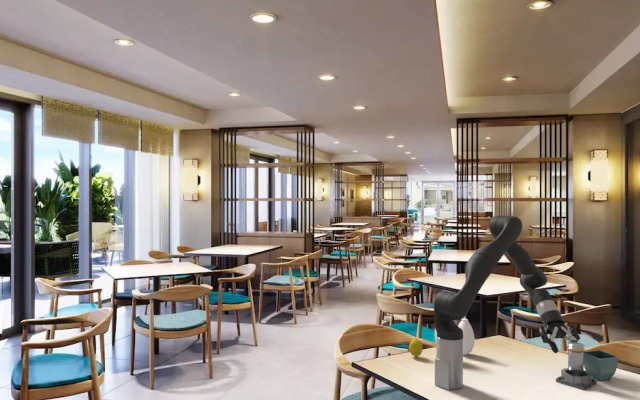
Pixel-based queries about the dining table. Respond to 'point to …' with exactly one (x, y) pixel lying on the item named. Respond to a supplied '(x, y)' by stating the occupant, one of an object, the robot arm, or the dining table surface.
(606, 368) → the flower pot
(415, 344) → the lemon
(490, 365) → the dining table surface
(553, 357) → the dining table surface
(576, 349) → the grey travel mug
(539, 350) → the dining table surface
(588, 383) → the duct flange
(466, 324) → the sauce bottle
